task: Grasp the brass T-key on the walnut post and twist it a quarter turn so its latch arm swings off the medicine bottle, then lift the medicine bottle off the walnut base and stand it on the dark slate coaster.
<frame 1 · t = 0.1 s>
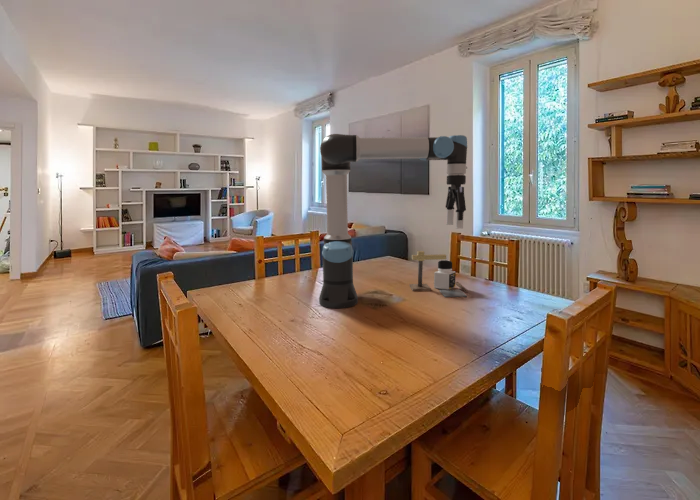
hand: (454, 226, 160), 28 cm above the table, fingers open, 13 cm apart
key: (429, 255, 166), point 15 cm above the table, hinge at 0.0°
coaster: (452, 293, 160), on the table
holder: (419, 288, 169), on the table
medicine bottle: (444, 287, 169), on the table, touching coaster
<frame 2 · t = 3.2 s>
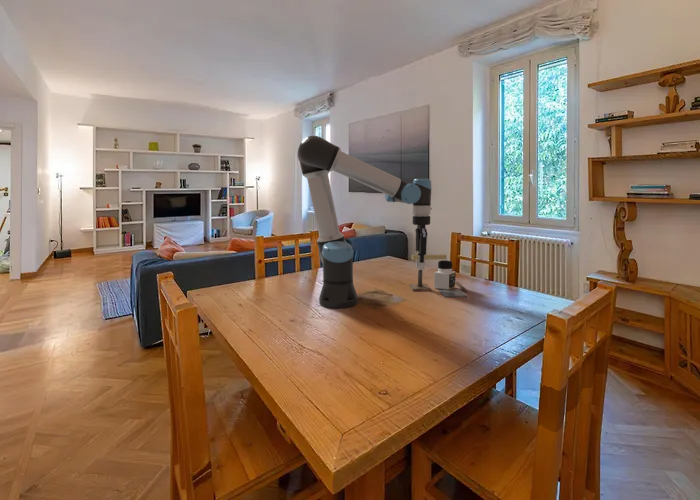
hand: (420, 268, 167), 9 cm above the table, fingers closed on key, 3 cm apart
key: (429, 255, 166), point 15 cm above the table, hinge at 0.0°, touching gripper
everything else where it was.
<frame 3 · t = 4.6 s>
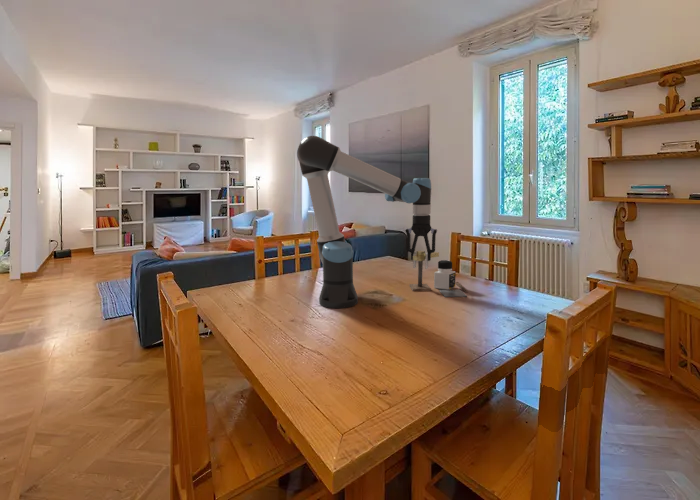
hand: (420, 267, 167), 9 cm above the table, fingers closed on key, 5 cm apart
key: (426, 254, 168), point 15 cm above the table, hinge at 36.5°, touching gripper
everything else where it was.
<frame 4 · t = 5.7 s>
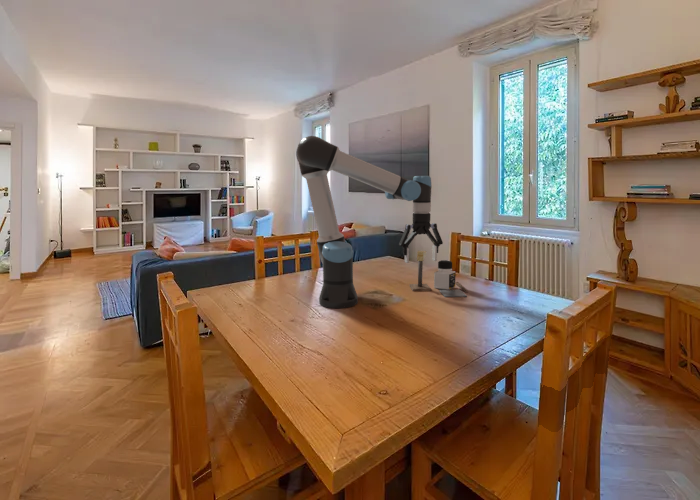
hand: (420, 261, 167), 12 cm above the table, fingers open, 13 cm apart
key: (421, 254, 170), point 15 cm above the table, hinge at 70.7°
everything else where it was.
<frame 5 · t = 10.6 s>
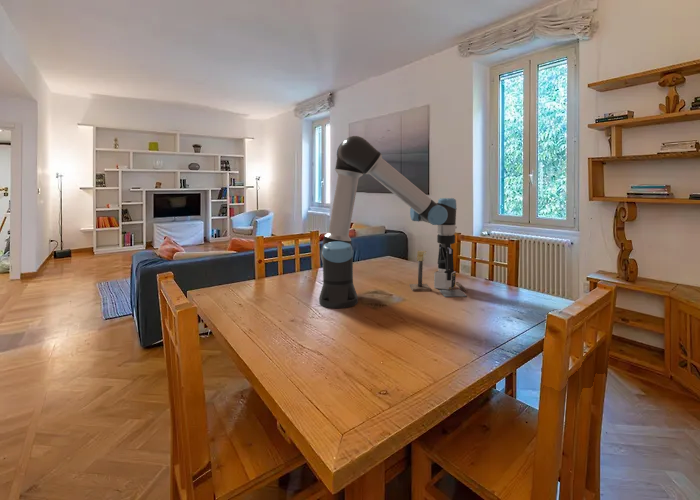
hand: (444, 283, 169), 2 cm above the table, fingers closed on medicine bottle, 10 cm apart
medicine bottle: (444, 287, 169), on the table, touching coaster, gripper
everything else where it was.
when the fingers open (3 cm above the table, at t = 18.3 s): medicine bottle drops 1 cm, resting on coaster.
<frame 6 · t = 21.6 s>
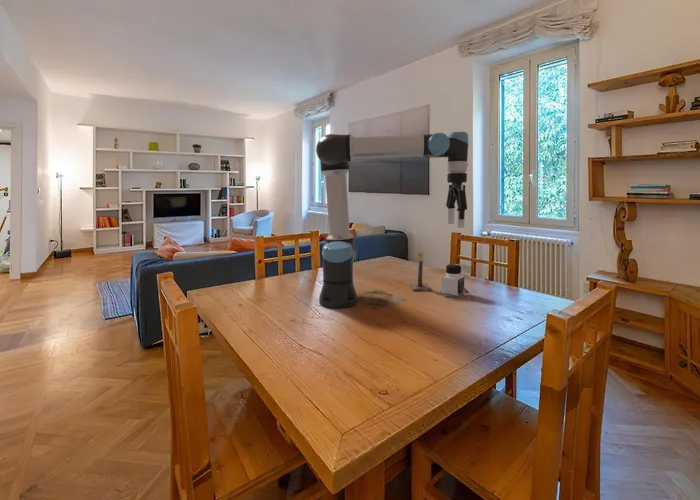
hand: (455, 225, 155), 29 cm above the table, fingers open, 13 cm apart
medicine bottle: (452, 293, 160), resting on coaster
everything else where it was.
at the end: key at +71° (first picture: +0°); medicine bottle inside the target area on the coaster (0.1 cm from its centre), point 0.3 cm above the coaster's base; medicine bottle tilted 0° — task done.
